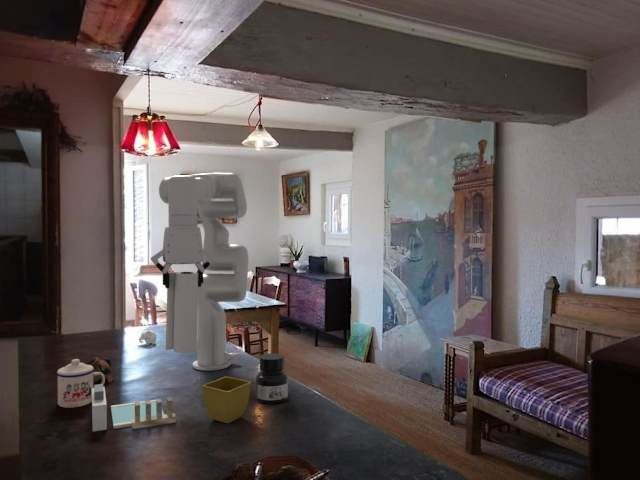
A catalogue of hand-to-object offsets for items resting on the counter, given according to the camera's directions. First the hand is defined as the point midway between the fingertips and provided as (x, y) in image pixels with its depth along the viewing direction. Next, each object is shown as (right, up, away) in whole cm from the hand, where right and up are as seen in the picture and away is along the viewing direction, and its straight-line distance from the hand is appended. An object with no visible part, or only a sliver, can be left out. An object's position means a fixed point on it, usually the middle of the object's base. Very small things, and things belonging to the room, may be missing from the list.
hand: (183, 286), depth 136 cm
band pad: (-9, -32, -8) cm, 34 cm away
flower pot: (+14, -32, -10) cm, 37 cm away
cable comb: (-3, -32, -14) cm, 35 cm away
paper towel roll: (0, -18, +1) cm, 18 cm away
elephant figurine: (-32, -30, +67) cm, 79 cm away
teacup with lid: (-28, -32, +1) cm, 42 cm away
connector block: (-18, -32, -12) cm, 38 cm away
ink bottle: (+24, -32, +4) cm, 40 cm away
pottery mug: (-32, -31, +19) cm, 48 cm away
